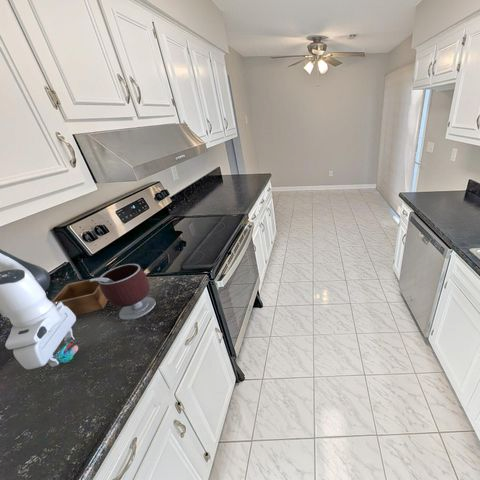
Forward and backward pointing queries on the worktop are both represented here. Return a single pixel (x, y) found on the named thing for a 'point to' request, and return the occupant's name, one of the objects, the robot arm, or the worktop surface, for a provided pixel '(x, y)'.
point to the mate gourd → (127, 290)
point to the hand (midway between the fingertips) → (63, 352)
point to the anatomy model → (67, 354)
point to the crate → (82, 297)
